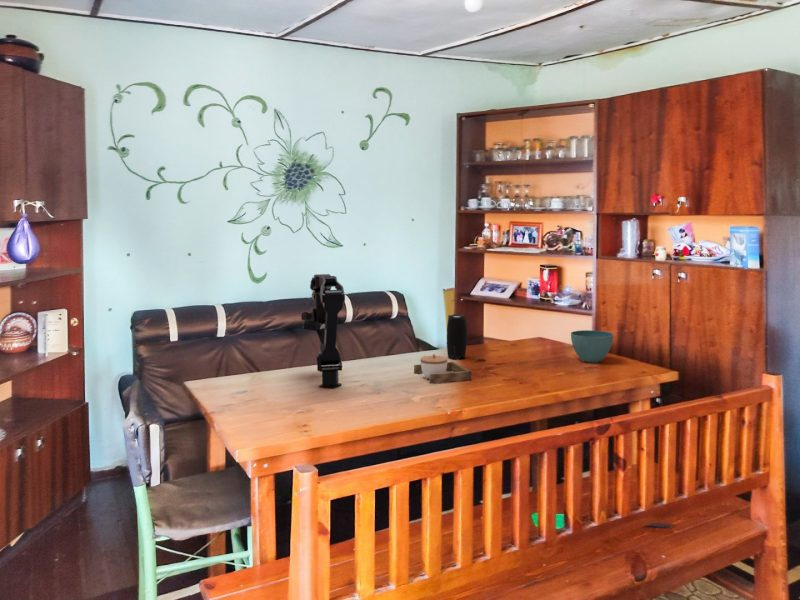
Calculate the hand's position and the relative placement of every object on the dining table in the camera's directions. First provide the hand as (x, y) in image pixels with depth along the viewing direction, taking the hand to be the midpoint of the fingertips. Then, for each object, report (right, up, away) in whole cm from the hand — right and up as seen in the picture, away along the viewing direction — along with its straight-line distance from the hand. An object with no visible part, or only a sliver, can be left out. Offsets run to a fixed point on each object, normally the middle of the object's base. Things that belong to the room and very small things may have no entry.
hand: (322, 344), depth 288 cm
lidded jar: (+45, -14, -1) cm, 47 cm away
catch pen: (+47, -13, 0) cm, 49 cm away
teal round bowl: (+116, -9, +31) cm, 120 cm away
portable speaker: (+57, -9, +36) cm, 68 cm away
